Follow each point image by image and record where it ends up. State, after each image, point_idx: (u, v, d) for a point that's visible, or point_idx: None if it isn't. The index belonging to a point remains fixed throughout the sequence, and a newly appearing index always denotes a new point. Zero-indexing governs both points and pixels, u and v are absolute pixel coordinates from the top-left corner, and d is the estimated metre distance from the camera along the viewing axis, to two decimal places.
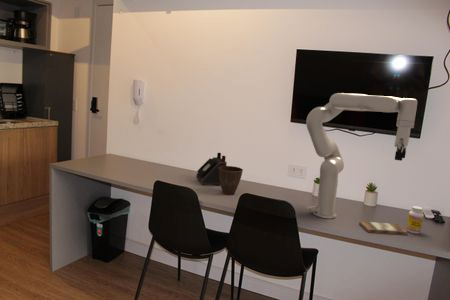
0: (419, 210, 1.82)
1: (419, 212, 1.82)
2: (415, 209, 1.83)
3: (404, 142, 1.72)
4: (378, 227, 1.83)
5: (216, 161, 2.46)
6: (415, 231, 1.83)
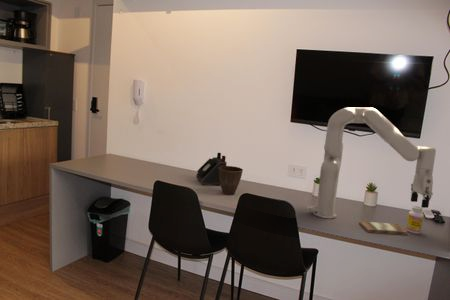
0: (419, 210, 1.82)
1: (419, 212, 1.82)
2: (415, 209, 1.83)
3: None
4: (378, 227, 1.83)
5: (216, 161, 2.46)
6: (415, 231, 1.83)
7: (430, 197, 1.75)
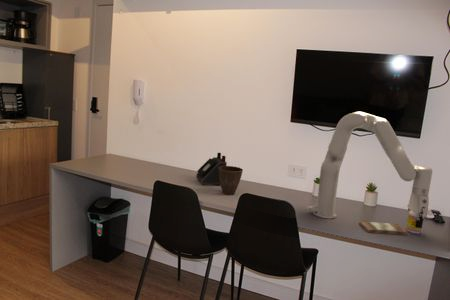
0: None
1: None
2: None
3: None
4: (378, 227, 1.83)
5: (216, 161, 2.46)
6: (415, 231, 1.83)
7: (424, 218, 1.78)
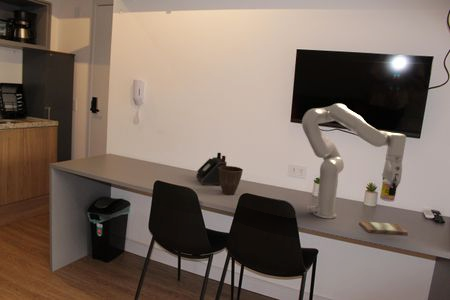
0: None
1: None
2: None
3: None
4: (378, 227, 1.83)
5: (216, 161, 2.46)
6: (388, 199, 1.80)
7: (397, 185, 1.75)
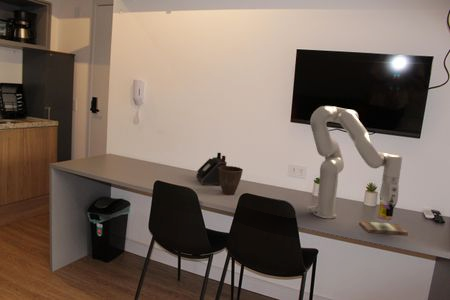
0: None
1: None
2: None
3: None
4: (378, 227, 1.83)
5: (216, 161, 2.46)
6: (386, 220, 1.81)
7: (394, 206, 1.77)
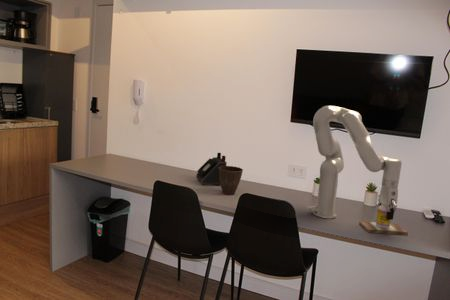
0: None
1: None
2: None
3: None
4: (378, 227, 1.83)
5: (216, 161, 2.46)
6: (384, 225, 1.82)
7: (394, 209, 1.76)
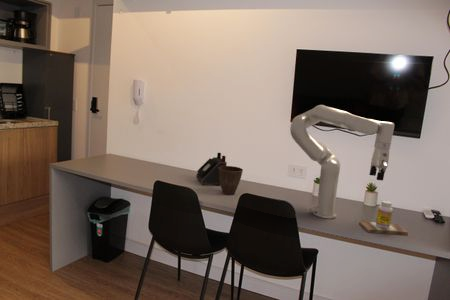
0: (388, 204, 1.81)
1: (388, 206, 1.82)
2: (384, 203, 1.82)
3: None
4: (378, 227, 1.83)
5: (216, 161, 2.46)
6: (384, 225, 1.82)
7: (384, 170, 1.82)
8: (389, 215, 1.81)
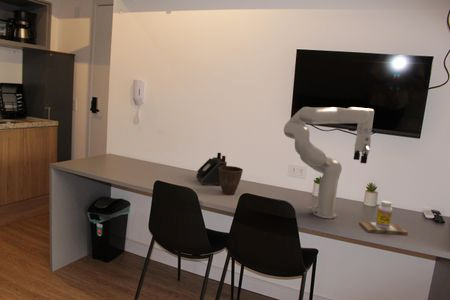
0: (388, 204, 1.81)
1: (388, 206, 1.82)
2: (384, 203, 1.82)
3: None
4: (378, 227, 1.83)
5: (216, 161, 2.46)
6: (384, 225, 1.82)
7: (367, 153, 1.95)
8: (389, 215, 1.81)
